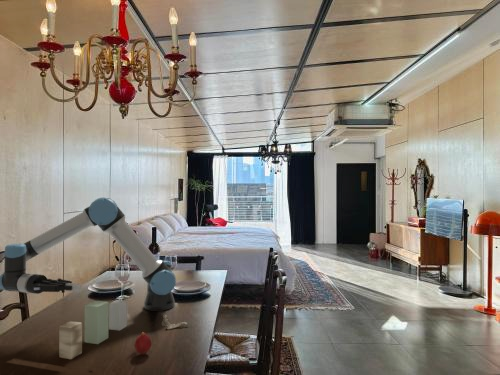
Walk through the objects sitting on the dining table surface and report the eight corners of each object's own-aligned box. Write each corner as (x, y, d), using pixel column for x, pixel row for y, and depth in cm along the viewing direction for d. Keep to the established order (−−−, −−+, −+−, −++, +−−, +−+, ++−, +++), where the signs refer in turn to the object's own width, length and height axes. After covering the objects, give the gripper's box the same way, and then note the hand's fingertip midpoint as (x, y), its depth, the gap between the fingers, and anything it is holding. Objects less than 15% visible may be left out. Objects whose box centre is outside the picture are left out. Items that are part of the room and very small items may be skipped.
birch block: (70, 354, 126) (70, 321, 127) (81, 356, 125) (81, 322, 125) (59, 361, 122) (59, 326, 122) (71, 363, 120) (71, 327, 120)
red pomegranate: (136, 351, 129) (136, 329, 129) (152, 350, 130) (152, 328, 130) (132, 358, 123) (132, 335, 124) (149, 357, 124) (149, 334, 124)
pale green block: (84, 342, 134) (84, 305, 134) (95, 336, 140) (95, 300, 140) (97, 344, 132) (97, 306, 132) (108, 337, 138) (108, 301, 138)
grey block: (116, 327, 152) (117, 300, 152) (126, 329, 150) (126, 300, 150) (109, 332, 147) (109, 303, 147) (119, 333, 145) (119, 304, 146)
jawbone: (171, 334, 147) (170, 329, 146) (147, 322, 161) (146, 318, 161) (189, 327, 153) (188, 322, 153) (164, 316, 167) (164, 311, 167)
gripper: (46, 288, 151) (92, 293, 144) (18, 297, 139) (67, 302, 132) (46, 271, 151) (92, 274, 145) (18, 278, 139) (67, 282, 132)
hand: (80, 288), depth 138 cm, fingers closed
